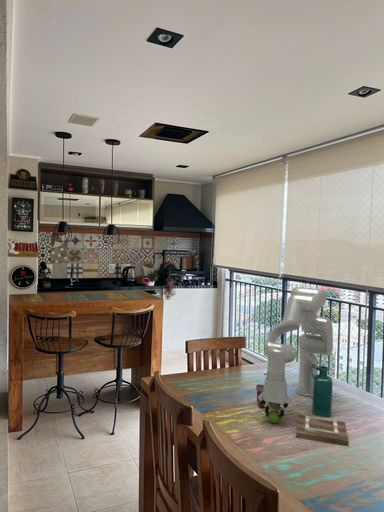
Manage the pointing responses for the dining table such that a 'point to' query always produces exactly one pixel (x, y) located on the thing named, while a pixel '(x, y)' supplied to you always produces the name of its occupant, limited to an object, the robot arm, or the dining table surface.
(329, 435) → the board
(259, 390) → the toy fire truck
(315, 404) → the teal bottle
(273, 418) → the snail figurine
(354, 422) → the dining table surface
